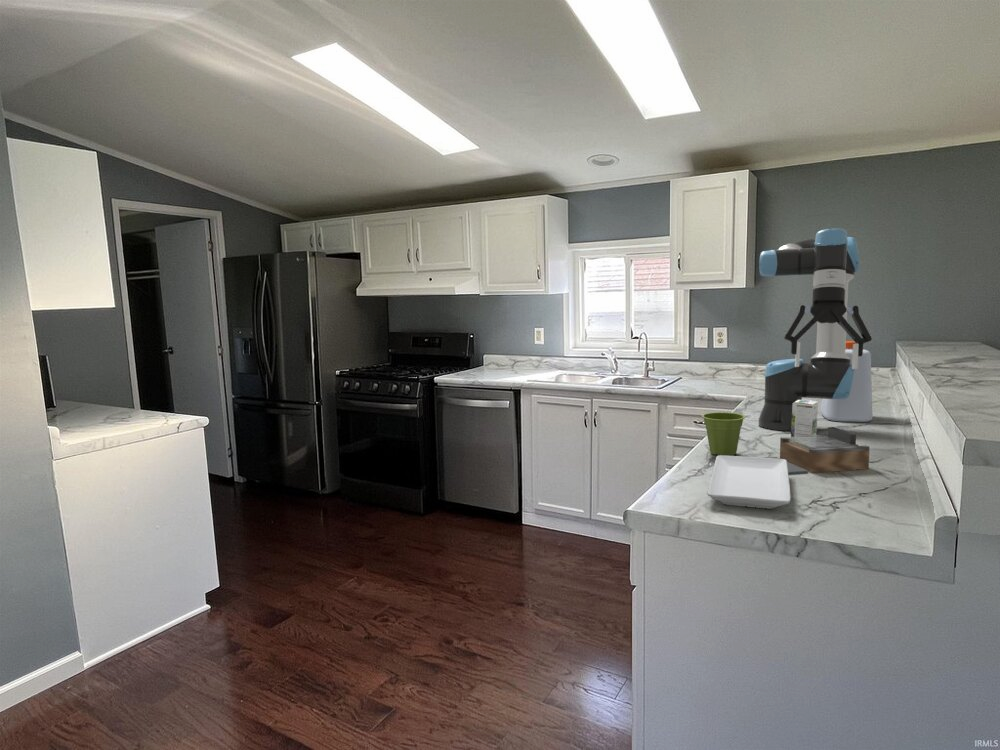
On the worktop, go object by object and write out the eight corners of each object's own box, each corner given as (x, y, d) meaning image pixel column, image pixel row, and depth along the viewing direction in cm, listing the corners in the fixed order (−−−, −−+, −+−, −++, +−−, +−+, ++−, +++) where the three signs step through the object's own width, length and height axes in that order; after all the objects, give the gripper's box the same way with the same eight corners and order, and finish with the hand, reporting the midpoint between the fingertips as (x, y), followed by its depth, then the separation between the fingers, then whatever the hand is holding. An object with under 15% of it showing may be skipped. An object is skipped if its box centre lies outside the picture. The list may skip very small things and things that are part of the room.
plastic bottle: (827, 421, 213) (830, 343, 209) (818, 413, 227) (821, 340, 224) (875, 423, 208) (879, 343, 205) (863, 414, 223) (867, 339, 219)
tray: (705, 507, 131) (705, 492, 131) (716, 466, 160) (716, 453, 159) (791, 517, 125) (791, 501, 124) (786, 472, 153) (787, 458, 152)
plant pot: (724, 446, 183) (725, 410, 181) (753, 455, 172) (754, 417, 170) (692, 451, 179) (693, 414, 177) (720, 460, 168) (721, 421, 166)
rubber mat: (776, 458, 168) (776, 456, 168) (807, 473, 154) (807, 470, 154) (722, 462, 166) (722, 460, 166) (748, 476, 152) (749, 474, 152)
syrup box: (794, 446, 181) (796, 399, 179) (816, 449, 177) (818, 400, 175) (789, 450, 176) (791, 401, 174) (811, 453, 173) (813, 403, 171)
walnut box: (832, 455, 170) (833, 434, 169) (868, 468, 156) (869, 446, 155) (779, 458, 168) (780, 437, 167) (811, 472, 154) (812, 450, 153)
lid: (830, 439, 167) (830, 426, 167) (858, 449, 156) (858, 435, 156) (786, 442, 166) (787, 428, 165) (811, 452, 155) (812, 437, 155)
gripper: (779, 285, 159) (775, 364, 159) (887, 285, 151) (883, 369, 150) (775, 290, 166) (772, 366, 166) (879, 290, 158) (875, 370, 158)
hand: (825, 368), depth 158 cm, fingers open, 13 cm apart
